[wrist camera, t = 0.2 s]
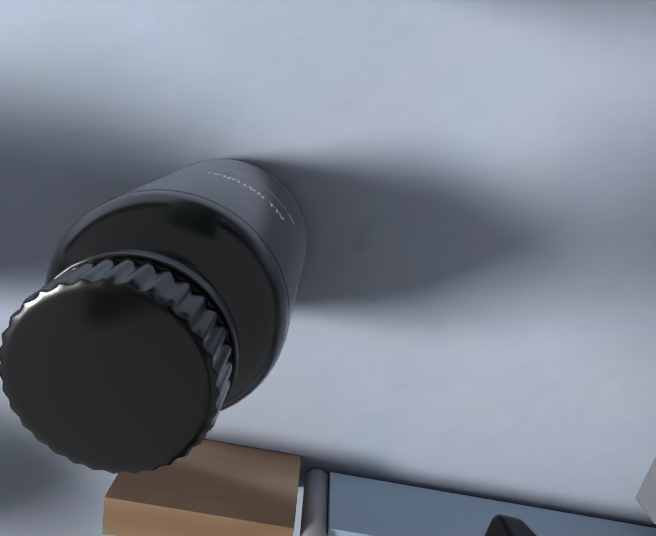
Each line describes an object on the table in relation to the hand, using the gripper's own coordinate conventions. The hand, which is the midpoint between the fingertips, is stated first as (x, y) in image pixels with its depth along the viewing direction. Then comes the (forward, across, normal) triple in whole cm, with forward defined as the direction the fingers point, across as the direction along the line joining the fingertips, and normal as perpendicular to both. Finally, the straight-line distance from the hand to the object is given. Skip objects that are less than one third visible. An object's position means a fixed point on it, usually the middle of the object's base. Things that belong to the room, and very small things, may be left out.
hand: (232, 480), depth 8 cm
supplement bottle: (+14, +3, 0) cm, 15 cm away
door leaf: (+14, -4, +12) cm, 19 cm away
